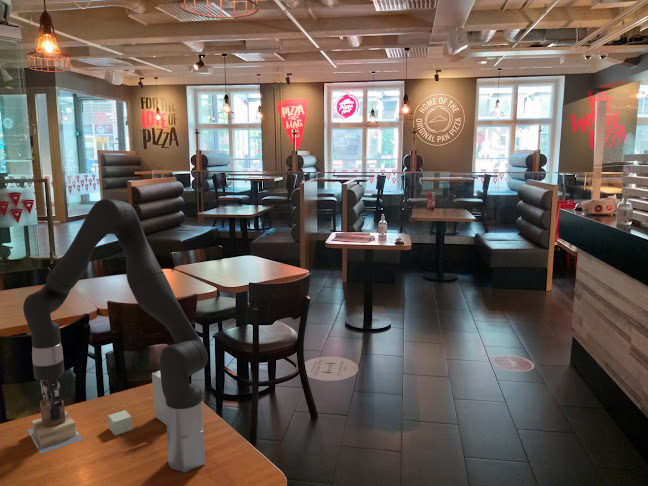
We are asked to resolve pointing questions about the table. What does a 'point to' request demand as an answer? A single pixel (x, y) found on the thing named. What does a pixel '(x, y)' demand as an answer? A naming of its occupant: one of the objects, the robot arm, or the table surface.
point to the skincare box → (159, 397)
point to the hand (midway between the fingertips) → (53, 415)
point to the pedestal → (53, 431)
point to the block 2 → (120, 422)
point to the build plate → (54, 445)
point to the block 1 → (47, 414)
